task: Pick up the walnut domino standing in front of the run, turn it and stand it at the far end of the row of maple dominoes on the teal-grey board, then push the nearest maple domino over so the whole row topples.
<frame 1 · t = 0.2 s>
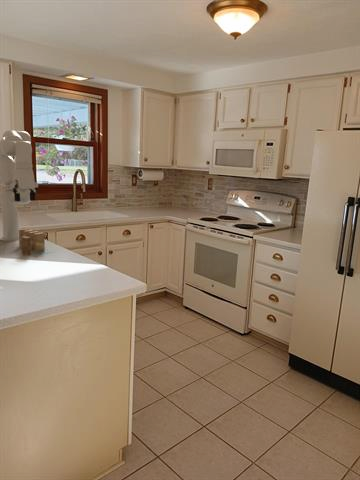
hand: (25, 200, 187), 29 cm above the counter, tool pointing down, fingers open, 9 cm apart
domino 2: (29, 247, 208), resting on board
domino 4: (39, 251, 203), resting on board
domino 3: (34, 249, 205), resting on board
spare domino: (26, 255, 194), on the counter
board: (34, 250, 206), on the counter
domino 1: (24, 246, 211), resting on board
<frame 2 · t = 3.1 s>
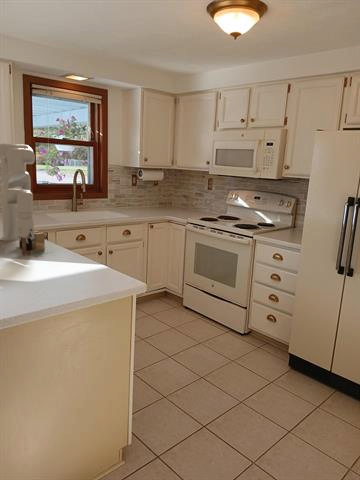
hand: (26, 249, 194), 3 cm above the counter, tool pointing down, fingers closed on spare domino, 4 cm apart
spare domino: (26, 255, 194), on the counter, touching gripper
everything else where it was.
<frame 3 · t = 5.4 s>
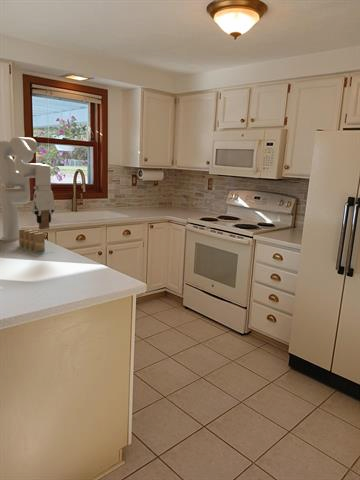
hand: (44, 222, 196), 17 cm above the counter, tool pointing down, fingers closed on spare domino, 4 cm apart
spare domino: (44, 228, 197), point 14 cm above the counter, touching gripper
everything else where it was.
when the fingers open (5 cm above the counter, at t = 8.1 s): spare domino stays where it is, resting on board.
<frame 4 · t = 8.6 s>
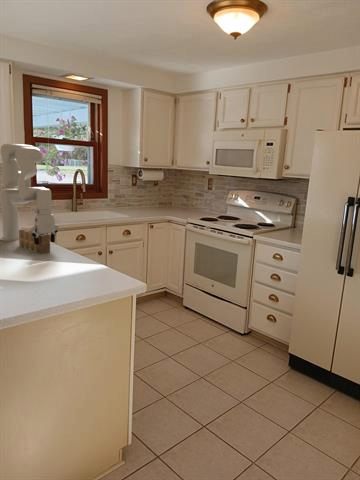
hand: (44, 243, 199), 6 cm above the counter, tool pointing down, fingers open, 9 cm apart
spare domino: (45, 252, 200), resting on board
everything else where it was.
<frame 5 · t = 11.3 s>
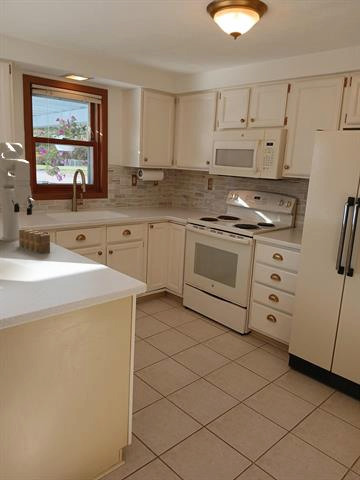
hand: (23, 213, 208), 20 cm above the counter, tool pointing down, fingers open, 9 cm apart
nothing on the counter moved.
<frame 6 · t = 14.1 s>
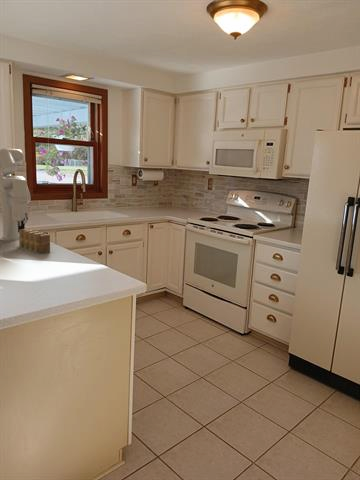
hand: (21, 232, 211), 8 cm above the counter, tool pointing down, fingers closed
domino 1: (24, 246, 211), point 1 cm above the counter, touching board, gripper
everything else where it was.
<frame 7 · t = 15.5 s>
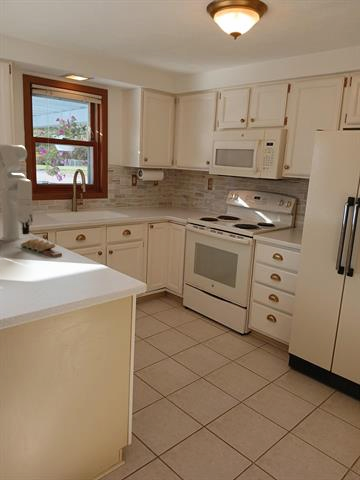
hand: (25, 233, 209), 8 cm above the counter, tool pointing down, fingers closed
domino 2: (30, 246, 208), point 1 cm above the counter, tilted 67°, touching domino 1, domino 3
domino 4: (41, 249, 202), point 1 cm above the counter, tilted 67°, touching domino 3, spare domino
domino 3: (35, 248, 205), point 1 cm above the counter, tilted 67°, touching board, domino 2, domino 4
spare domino: (46, 251, 199), point 2 cm above the counter, tilted 93°, touching board, domino 4
domino 1: (25, 245, 210), point 1 cm above the counter, tilted 67°, touching board, domino 2
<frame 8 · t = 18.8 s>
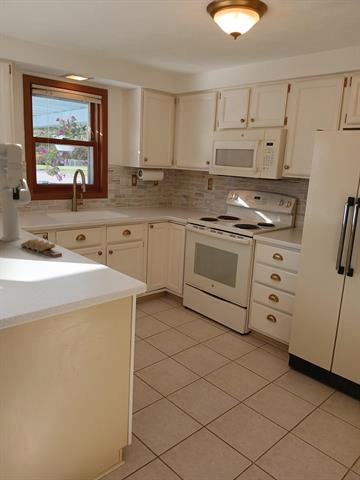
hand: (16, 199, 208), 27 cm above the counter, tool pointing down, fingers closed
nothing on the counter moved.
at the end: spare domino tilted 93°; domino 3 tilted 67° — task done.
